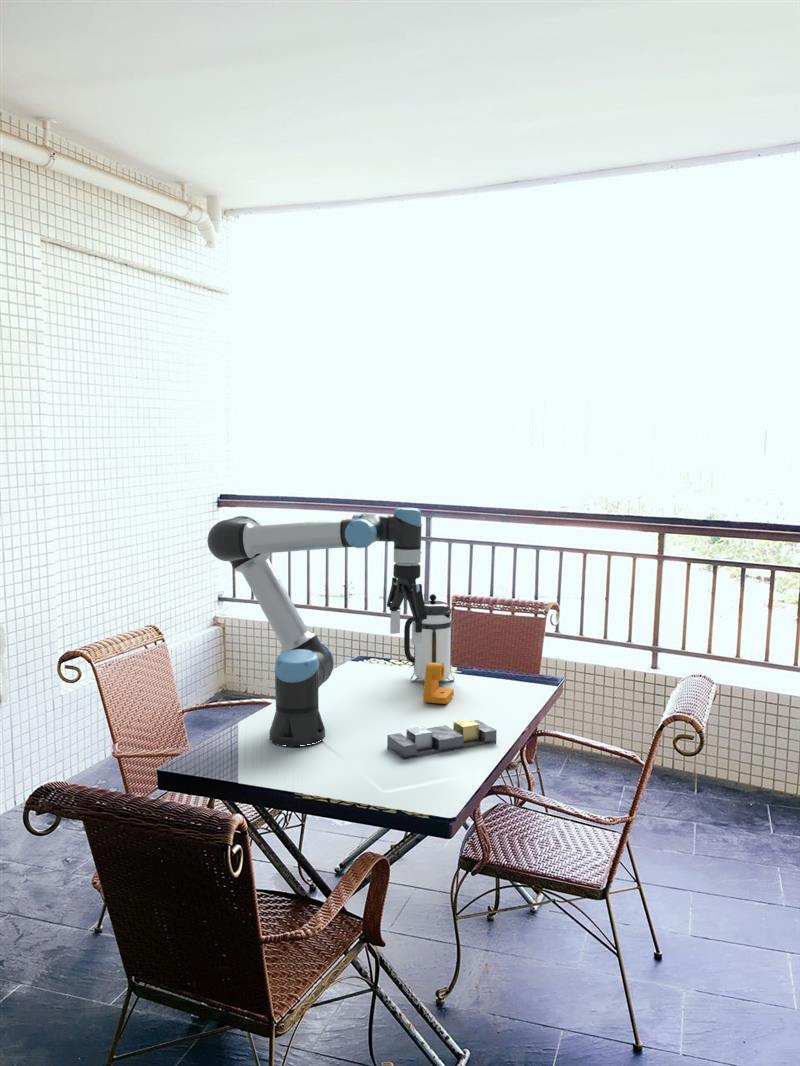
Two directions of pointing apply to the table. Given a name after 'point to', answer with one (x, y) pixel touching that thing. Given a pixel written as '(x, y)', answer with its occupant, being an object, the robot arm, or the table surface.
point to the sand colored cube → (467, 730)
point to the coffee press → (431, 639)
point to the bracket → (436, 685)
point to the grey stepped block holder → (439, 741)
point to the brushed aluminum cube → (420, 738)
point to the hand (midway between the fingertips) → (405, 638)
